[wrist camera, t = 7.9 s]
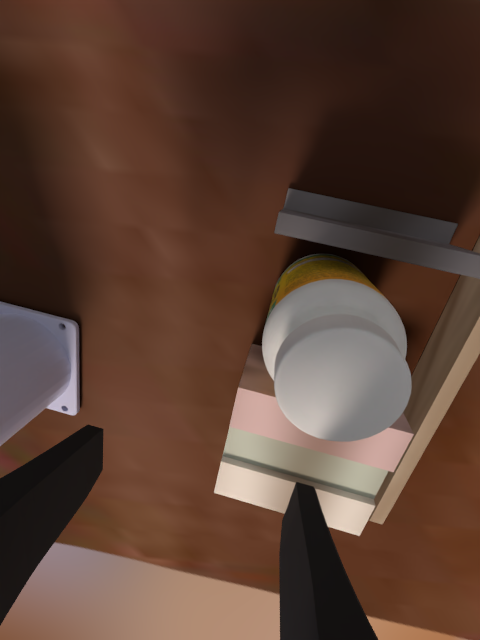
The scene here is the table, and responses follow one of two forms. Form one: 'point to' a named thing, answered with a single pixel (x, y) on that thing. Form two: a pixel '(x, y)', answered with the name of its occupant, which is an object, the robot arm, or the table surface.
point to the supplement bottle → (335, 351)
